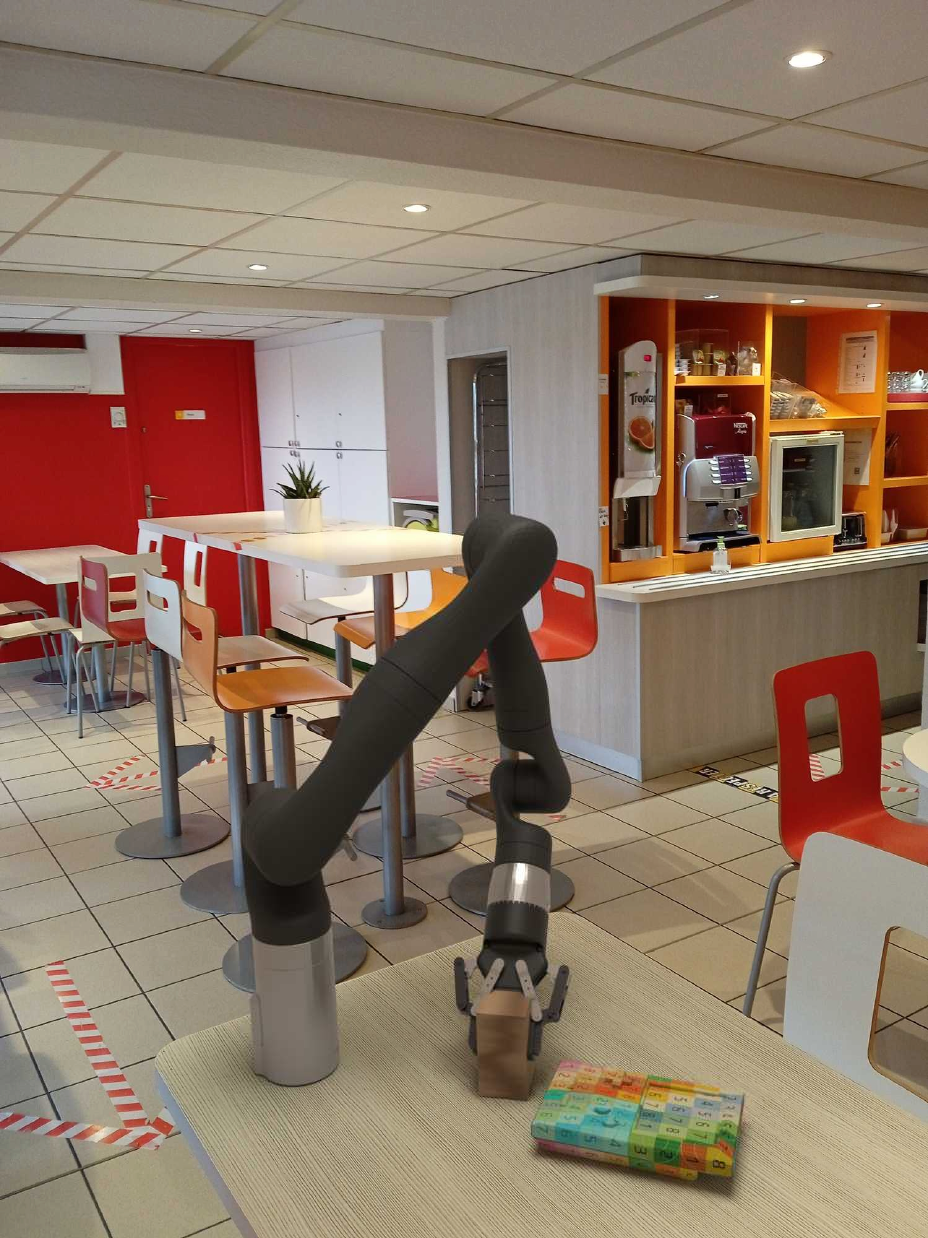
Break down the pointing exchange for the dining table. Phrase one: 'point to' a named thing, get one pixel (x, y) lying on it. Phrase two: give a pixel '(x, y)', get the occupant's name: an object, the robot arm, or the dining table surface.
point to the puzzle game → (639, 1120)
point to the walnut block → (504, 1045)
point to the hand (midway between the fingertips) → (503, 1056)
